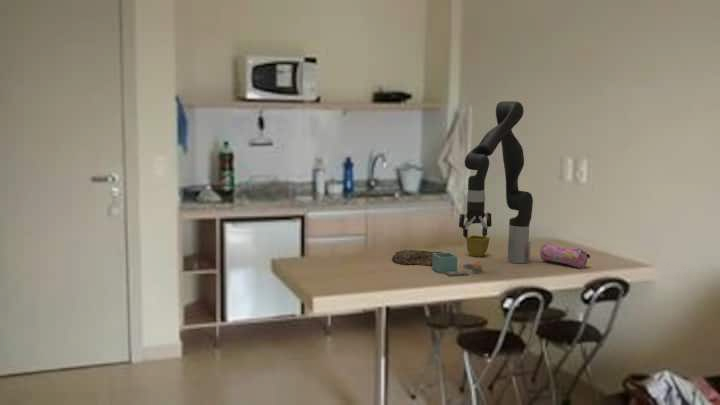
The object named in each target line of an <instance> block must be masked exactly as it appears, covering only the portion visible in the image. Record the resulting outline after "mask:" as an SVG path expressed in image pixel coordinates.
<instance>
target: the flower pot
mask: <svg viewBox="0 0 720 405" xmlns="http://www.w3.org/2000/svg"><path fill="white" fill-rule="evenodd" d="M465 240H466V250H467V252H468V254H469V255H470V256H471V257H479V258H482V257H483V256H485V254H486V253H487V251H488V249H489V248H488V247H489V244H490V243H489V242H490V240H491V239H490V237H488V236H486V237H483V236H481V235H474V234H473V235H469V236H468V238H465Z"/></svg>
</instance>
